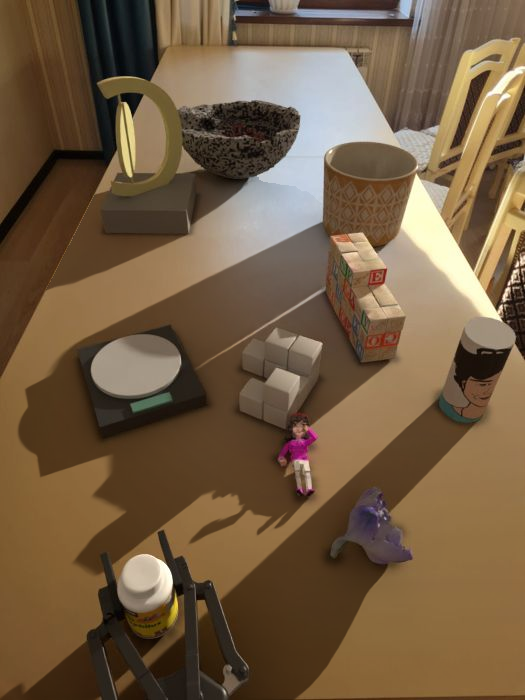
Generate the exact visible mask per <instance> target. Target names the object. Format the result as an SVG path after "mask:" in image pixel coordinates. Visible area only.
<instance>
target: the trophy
mask: <svg viewBox="0 0 525 700" xmlns="http://www.w3.org/2000/svg"><path fill="white" fill-rule="evenodd" d="M96 86H97V87H98V89H99V90H100V92H101V94H102V96H103V97H104V98H105V99H107V100H109V99H110V98H111V99H112V98H113V97H115V96H117V100H118V105H117V107H116V112H115V140H116V143H115V144H116V150H117V151H116V153H117V157H118V163H119V167H120V170H121V172H117V173H116V175H115V177H114V179H113V180H110V188H109V190H108V192H107V195H106V197H105V199H104V201H103V203H102V204H101V205H102V206H101V207H100V209H99V211H100V215H101V220H102V225H103V230H104V233H105V234H169V235H170V234H171V235H172V234H173V235H174V234H178V235H179V234H180V235H185V234H186V235H188V234H190V229H191V223H192V220H193V214H194V209H195V203H196V198H197V187H196V174H195V173H177V172H178V169H179V166H180V163H181V158H182V153H183V146H182V127H181V121H180V117H179V114H178V111H177V110H178V108H177V106H176V104H175V102H174V101H173V99H172V98H171V96H170V95H169V94H168V93H167V92H166V90H164V89H163V88H162V87H161V86H159V85H157V84H155V82H151V81H149V80H147V79H144V78H140V77H138V76H137V77H136V76H123V75H122V76H113V77H107V78H105V79H102V80H100V81H98V82H96ZM127 93H134V94H140V95H144V96H146V97H147V98H148V99H150V100H151V101H152V102H153V103H154V104H155V106H156V108H157V109H158V111H159V113H160V115H161V117H162V120H163V125H164V129H165V130H164V131H165V151H164V156H163V160H162V163H161V165H160V167H159V169H158V170H157V171H156V172H135V169H136V168H135V167H136V137H135V127H134V121H133V117H132V113H131V109H130V106H129V104H128V103H127V102H126V101H122V98H121V95H122V94H127Z"/></svg>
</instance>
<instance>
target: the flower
mask: <svg viewBox="0 0 525 700" xmlns="http://www.w3.org/2000/svg"><path fill="white" fill-rule="evenodd" d="M383 496H384V492H382V491H381V488H378V487H377V486H373V487H371V488H369V489H366V490H365V491H364V492H363V493H362V494H361V496H360V497H359V499H358V500H357V501H356V503H355V506H354V507H353V508H352V510H351V511H350V513H349V519H348V524H347V530H346V533H345V535H341V536H339V537H337V538H336V539H335V540H334V541H333V543H332V545H331V549H330V552H329V553H330V554H329V555H330V556H331V557H332V558H333V559H337V557H338V555H339V553H340V552H341V551H343V550H344V549H345V548H346V546H347V545H348V544H349V543H351V542H352V543H355V544H357V545H360V546H361V547H362V548H363V550H364V551H365V555H366V556H367V558H368V559H369V560H370V561H371V562H373V563H374V564H378V565H379V564H380V565H387V564H390V563H395V564H396V563H397V564H400V563H405V562H409V561H413V559H414V557H413V551H412V548H411V547H409V548H407V549H406V547H405V546H402V540H403V534H404V532H403V530H401V529H400V528H398V526H397V525H394V526H393V525H392V524H389V523H390V522H391V521H392V519H393V516H392V515H390V514H389V511H388V509H387V508H386V506H387V504H388V502H387V501H386V500H382V499H383Z"/></svg>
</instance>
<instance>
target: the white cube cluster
mask: <svg viewBox="0 0 525 700" xmlns="http://www.w3.org/2000/svg"><path fill="white" fill-rule="evenodd" d="M322 349H323V342H321V341H318V340H316V339H315V340H314V339H312V338H309V337H306V336H303V335H299V334H297V333H294V332H291V331H288V330H285V329H283V328H280V327H275V328H274V329H273V330H272V332H271V333H270V334H269V335H268V337H267V338H266V339H265V340H264V341H263V340H258V339H257V338H252V339H251V341H250V342H249V343H248V344H247V345H246V347H245V348H243V350H242V352H241V363H242V364H241V365H242V366H241V367H242V368H241V369H242V370H244V371H245V372H249V373H252V374H254V375H256V376H260V377H261V378H262V377H264V378H265V379H266V380H265V382H264V381H261V380H259V379H256V378H253V377H251V378H250V379H249V380H248V382H247V383H246V384H245V386H244V387H243V388H242V390H240V392H239V394H238V396H239V398H238V399H239V411H240V412H242V413H244V414H247V415H249V416H251V417H254V418H256V419H259V420H263V421H264V422H266V423H269V424H271V425H274V426H276V427H278V428H281V429H283V430H287V426H288V424H289V421H290V416H292V415H293V414H297V413H298V412H299V410H300V409H301V407H302V405H303V404H304V402H305V400H306V399H307V397H308V395H309V394H310V393H311V391H312V390H313V388H314V387H315V385H316V383H317V382H318V380H319V373H320V367H321V366H320V365H321V359H322V358H321V356H322Z"/></svg>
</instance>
